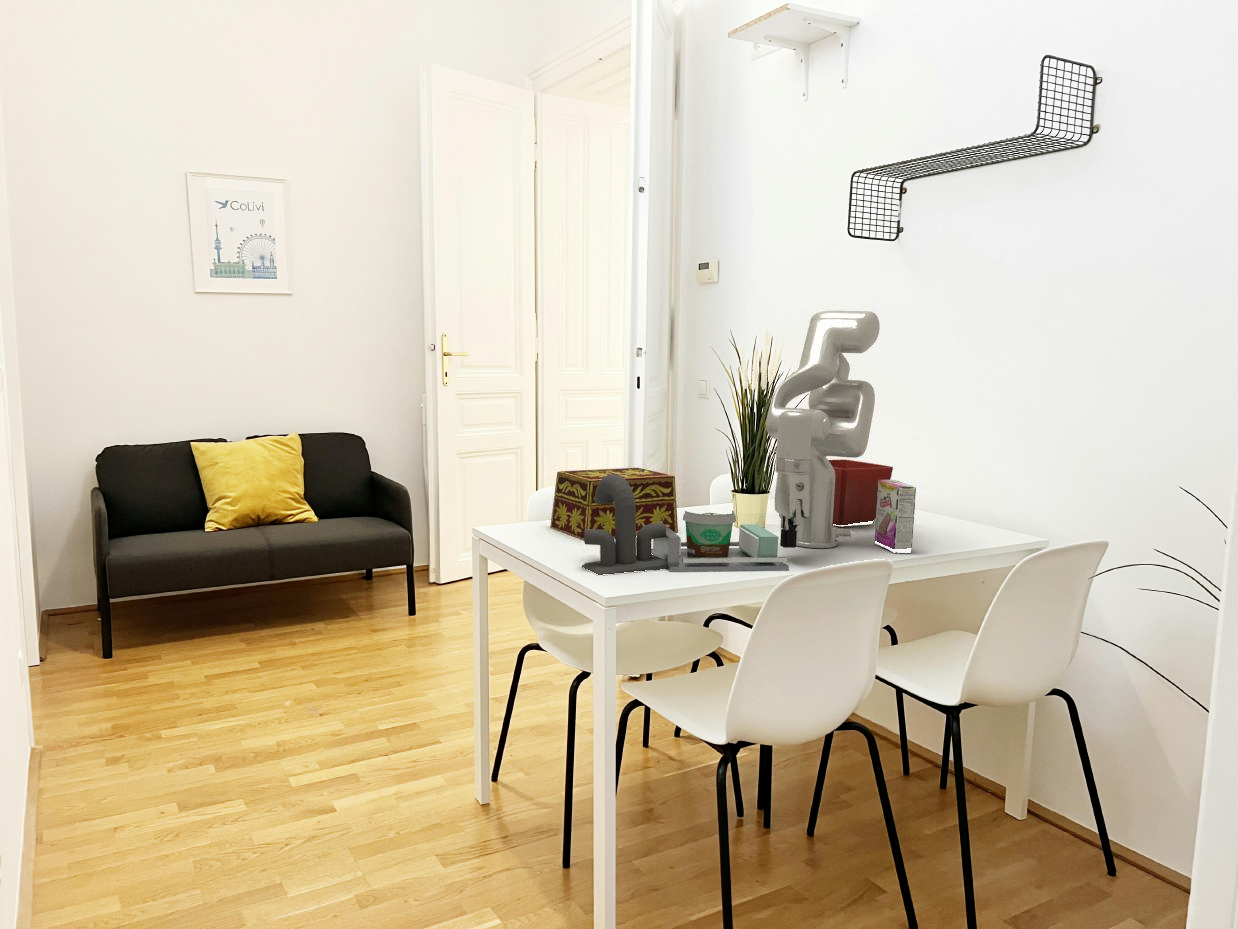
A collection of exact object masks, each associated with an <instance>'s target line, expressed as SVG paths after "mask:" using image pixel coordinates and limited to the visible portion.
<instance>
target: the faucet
mask: <svg viewBox="0 0 1238 929" xmlns="http://www.w3.org/2000/svg"><path fill="white" fill-rule="evenodd" d="M613 502H614V505H615V539H614V538H613V536H612V535H611V534H610V533H609V532H607V531H605V530H598V529H586V530H585V534H584V540H583V541H584V545H586V546H587V545H589V546H591V545H592V546H599V554H600V555H599V556H600V558H599V559H600V560H596V561H590V562H585V563H584V564H582V565H581V566H582V567H584V568H585V570H586V569H588V570H590V571H592V572H594V573H596V574H598V575H603V574H613V575H615V574H614V573H624V572H634V571H644V572H646V571H645V570H654V571H661V570H660V569H665V570H667V561H666V560H664V559H662V558H659V557H657V556H654V555H652V554H651V549H652V541H653V539H656V538H663V537H664V536H665V534H666V527H665V525H664V523H662V522H661V523H655V524H648V525H645V526H644V527H642V528H641V529H640V530H639V532H638V534H637V537H636V508H635V499H634V495H633V492H632V489H631V487H630V485H629V484H628V482H627V481H626V480H625V479H624V478H623V477H621V476H620V475H616V474H609V475H607V476H605V477H603V478H602V480H601V481H600V482H599V484H598V486H597V488H596V493H595V503H597V504H611V503H613ZM582 567H581V568H582ZM584 568H583V569H584ZM588 570H587V571H588ZM590 571H589V572H590ZM592 572H591V573H592ZM594 573H593V574H594ZM634 573H635V572H634ZM596 574H595V575H596ZM624 574H625V573H624ZM598 575H597V576H598ZM603 576H604V575H603Z"/></svg>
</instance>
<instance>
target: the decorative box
mask: <svg viewBox="0 0 1238 929" xmlns="http://www.w3.org/2000/svg"><path fill="white" fill-rule="evenodd" d="M556 473H557V474H556V480H555V486H554V496H553V503H552V511H551V518H550V529H552V530H556V531H557V532H560V533H563V534H566V535H568V536H570V535H571V536H570V537H573V538H575V539H578V538H579V539H578V540H581V541H584V534H585V530H586V529H598V530H605V531H607V532H609V533H610V534H611V535H612V536H613V538H615V505H614V502H613V503H611V504H597V503H595V493H596V488H597V486H598V484H599V482H600V481H601V480H602V478H603V477H605V476H607V475H609V474H616V475H620V476H621V477H623V478H624V479H625V480H626V481H627V482H628V484H629V485H630V487H631V489H632V492H633V495H634V499H635V508H636V536H637V534H638V532H639V530H640V529H641V528H642V527H644V526H645V525H648V524H655V523H661V522H662V523H664V525H666V526H667V527H668V528H669V529H671V530H672V531H673V532H674V533H676V534H677V533H679V527H678V526H679V525H678V524H679V523H678V511H677V510H678V509H677V493H676V490H677V489H676V478H675V475H672V474H667V473H665V472H658V471H654V470H649V469H647V468H646V469H645V468H641V467H622V468H604V469H602V468H601V469H580V470H561V471H557V472H556Z"/></svg>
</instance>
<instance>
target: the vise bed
mask: <svg viewBox="0 0 1238 929" xmlns="http://www.w3.org/2000/svg"><path fill="white" fill-rule="evenodd" d="M665 527H666V534H665V536H664V537H663V538H656V539H652V548H651V553H652V554H653V555H654V556H657V557H659V558H662V559H664V560H666V561H667V569H666V571H668V572H669V573H685V572H687V573H689V572H691V573H692V572H694V573H697V572H756V571H757V572H758V571H759V572H761V571H763V572H765V571H766V570H777V571H790V570H789V569H790V565H788V564H787V563H786V562H787V557H786V556H777V557H751V556H749V555H748V554H746V553H745V552H743V551H742V550H740V549H739V541H730V546H729V553H728V557H719V558H696V557H692V556H689V555H687V541H682V538H681V536H680V535H678V534H677V533H674V532H673V531H672V530H671V529H669V528H668V527H667V526H666V525H665ZM681 547H682V548H681ZM759 562H770V563H759Z"/></svg>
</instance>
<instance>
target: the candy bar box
mask: <svg viewBox="0 0 1238 929" xmlns="http://www.w3.org/2000/svg"><path fill="white" fill-rule="evenodd" d="M916 491H917V487H916V486H914V485H911V484H907V483H905V482H902V481H899V480H896V479H890V480H878V491H877V508H876V509H877V510H876V518H875V527H874V528H875V529H874V541H877V542H879V543H881V544H883V545H885V546H888V547H890V548H892V549H907V548H912V549H913V538H914V524H915V523H914V522H915V509H916V493H917V492H916Z"/></svg>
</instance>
